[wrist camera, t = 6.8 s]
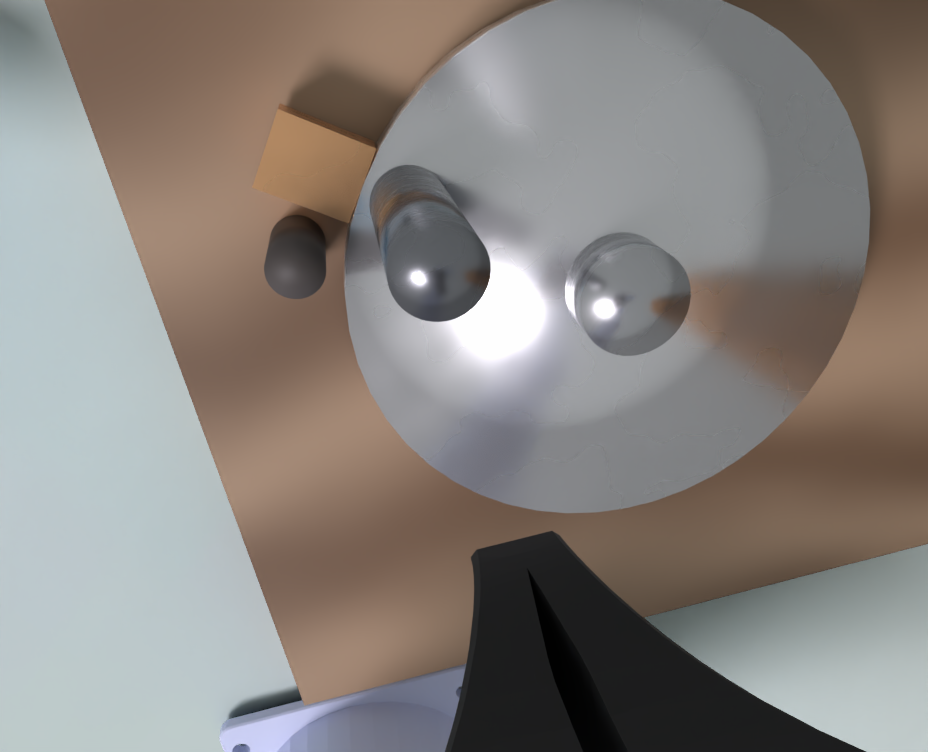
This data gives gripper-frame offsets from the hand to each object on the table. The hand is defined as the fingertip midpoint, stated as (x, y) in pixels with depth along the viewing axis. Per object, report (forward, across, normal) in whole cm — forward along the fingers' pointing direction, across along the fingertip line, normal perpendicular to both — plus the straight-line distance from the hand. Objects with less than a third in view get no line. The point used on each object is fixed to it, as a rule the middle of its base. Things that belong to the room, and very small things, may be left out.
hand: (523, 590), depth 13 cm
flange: (+8, -3, -3) cm, 9 cm away
